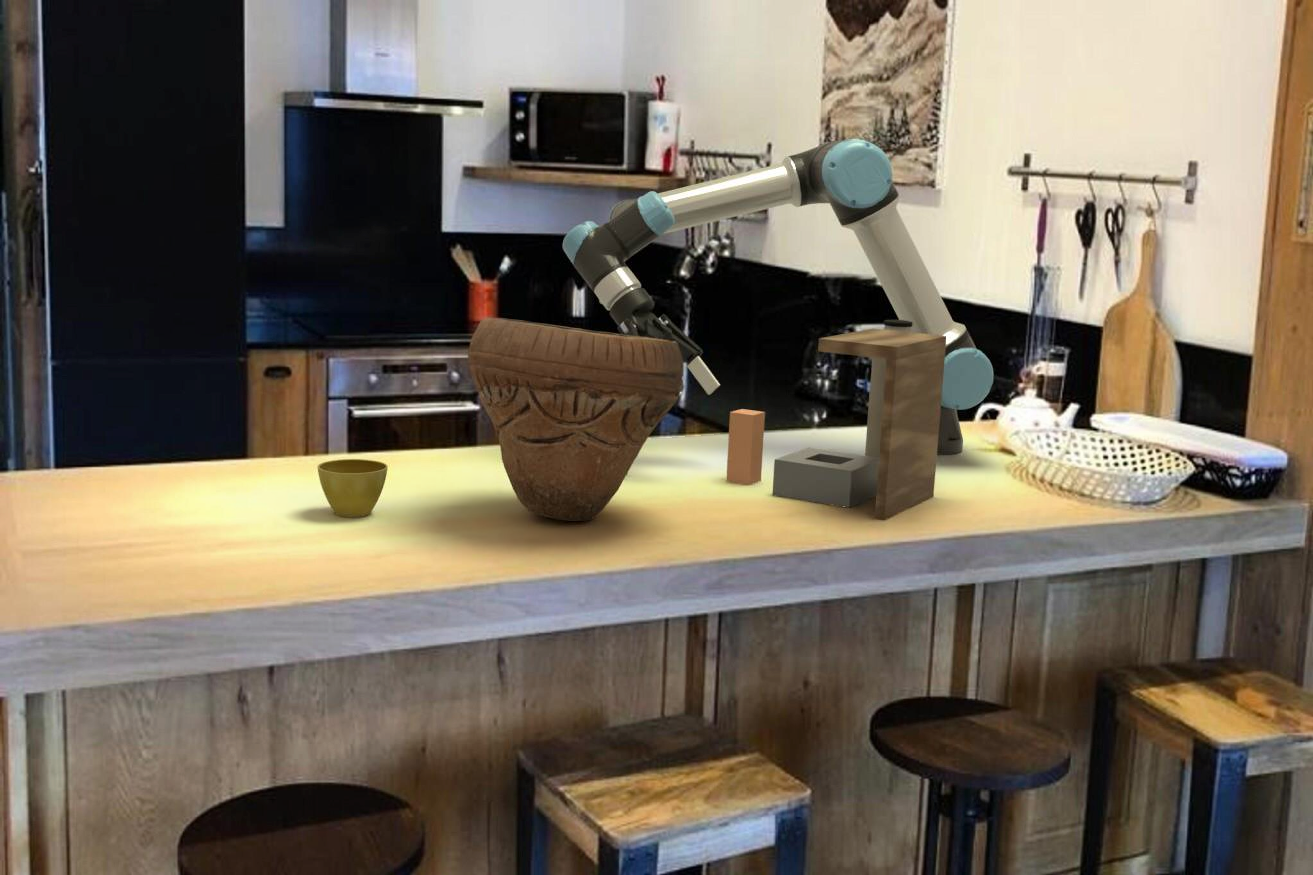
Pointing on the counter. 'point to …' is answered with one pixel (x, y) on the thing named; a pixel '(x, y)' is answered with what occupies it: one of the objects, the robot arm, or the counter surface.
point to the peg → (745, 446)
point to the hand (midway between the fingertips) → (695, 394)
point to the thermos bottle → (879, 393)
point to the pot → (571, 407)
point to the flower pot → (352, 485)
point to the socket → (826, 477)
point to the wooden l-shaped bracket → (903, 411)
